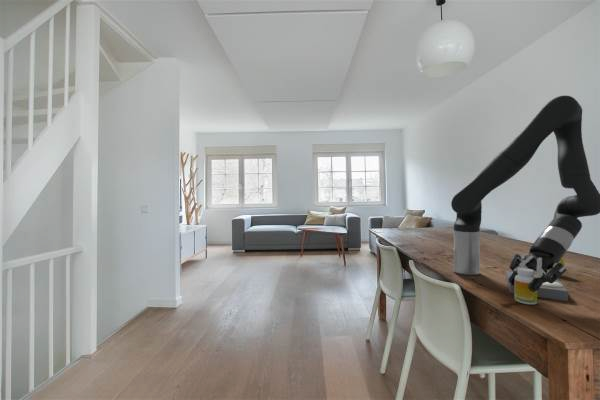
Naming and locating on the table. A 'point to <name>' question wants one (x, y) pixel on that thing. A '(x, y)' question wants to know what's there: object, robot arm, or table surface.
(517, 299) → the supplement bottle
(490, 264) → the table surface
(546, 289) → the plinth
